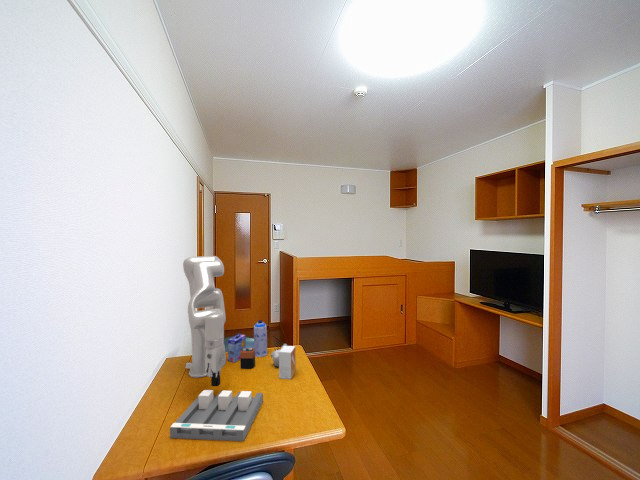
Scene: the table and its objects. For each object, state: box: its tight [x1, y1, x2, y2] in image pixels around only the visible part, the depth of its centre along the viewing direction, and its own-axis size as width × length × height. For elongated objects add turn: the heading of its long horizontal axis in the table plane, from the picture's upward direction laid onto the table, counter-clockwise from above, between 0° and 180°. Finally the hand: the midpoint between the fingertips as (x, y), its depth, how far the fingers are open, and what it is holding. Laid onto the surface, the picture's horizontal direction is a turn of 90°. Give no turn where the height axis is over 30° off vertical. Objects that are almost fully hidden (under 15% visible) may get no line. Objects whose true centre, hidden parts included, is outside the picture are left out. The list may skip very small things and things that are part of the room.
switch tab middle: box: [218, 389, 233, 410], centre depth 105 cm, size 4×4×5 cm
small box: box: [278, 345, 297, 380], centre depth 133 cm, size 8×6×13 cm
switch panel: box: [169, 391, 264, 442], centre depth 101 cm, size 26×22×4 cm
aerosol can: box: [253, 319, 268, 358], centre depth 157 cm, size 8×8×20 cm
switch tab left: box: [198, 389, 214, 409], centre depth 106 cm, size 4×4×5 cm
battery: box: [239, 347, 256, 370], centre depth 142 cm, size 4×7×10 cm, turn 87°
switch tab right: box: [238, 390, 253, 411], centre depth 105 cm, size 4×4×5 cm
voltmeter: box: [270, 335, 288, 367], centre depth 149 cm, size 27×11×10 cm, turn 31°
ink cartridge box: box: [227, 332, 247, 363], centre depth 152 cm, size 10×6×14 cm, turn 160°
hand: (215, 385), depth 114 cm, fingers closed
